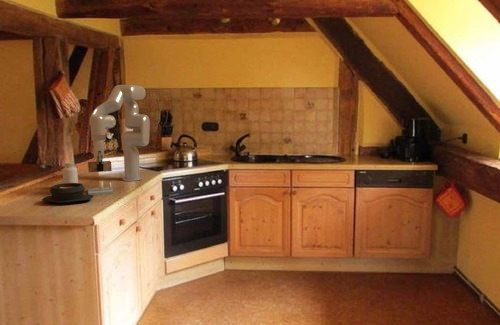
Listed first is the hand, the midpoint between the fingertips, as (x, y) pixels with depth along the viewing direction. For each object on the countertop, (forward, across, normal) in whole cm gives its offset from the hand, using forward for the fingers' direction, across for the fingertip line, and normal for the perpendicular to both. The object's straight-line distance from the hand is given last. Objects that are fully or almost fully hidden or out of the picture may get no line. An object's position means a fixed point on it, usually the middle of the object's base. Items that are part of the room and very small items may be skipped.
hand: (100, 169), depth 243 cm
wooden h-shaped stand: (+1, 0, 0) cm, 1 cm away
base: (+13, 0, 0) cm, 13 cm away
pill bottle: (+13, -19, -16) cm, 28 cm away
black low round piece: (+13, +17, -17) cm, 27 cm away
